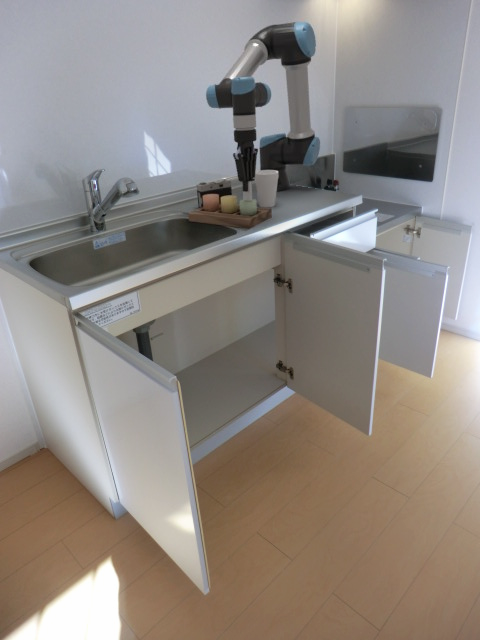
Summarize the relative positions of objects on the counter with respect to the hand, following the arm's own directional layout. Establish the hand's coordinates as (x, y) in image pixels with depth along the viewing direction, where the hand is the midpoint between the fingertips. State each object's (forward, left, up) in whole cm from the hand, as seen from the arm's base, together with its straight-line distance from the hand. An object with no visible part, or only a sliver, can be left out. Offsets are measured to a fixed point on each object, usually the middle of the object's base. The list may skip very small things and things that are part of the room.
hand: (247, 200), depth 171 cm
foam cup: (-23, -5, -8) cm, 25 cm away
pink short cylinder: (0, -16, -5) cm, 17 cm away
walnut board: (0, -8, -8) cm, 11 cm away
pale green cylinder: (0, 0, -5) cm, 5 cm away
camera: (-16, -27, -8) cm, 32 cm away
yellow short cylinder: (0, -8, -5) cm, 9 cm away
